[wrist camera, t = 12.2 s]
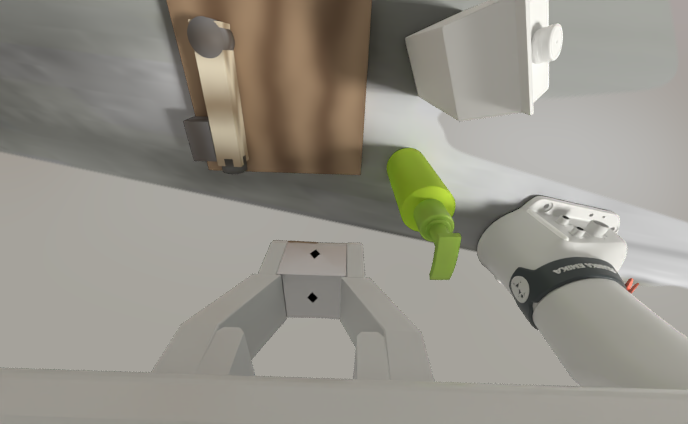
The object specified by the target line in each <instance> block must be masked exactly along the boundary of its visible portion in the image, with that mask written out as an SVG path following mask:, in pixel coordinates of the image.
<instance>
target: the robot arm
mask: <svg viewBox="0 0 688 424" xmlns="http://www.w3.org/2000/svg"><path fill="white" fill-rule="evenodd" d="M545 204H546V205H545ZM544 205H545V206H544ZM619 226H620V217H619V216H618V215H617V214H616V213H614V212H611V211H607V210H603V209H598V208H594V207H589V206H585V205H580V204H576V203H571V202H567V201H563V200H558V199H554V198H549V197H545V196H536V197H534V198H532V199H531V200H530V201H528V202H527V203H526V204H525V205H523V206H522V207H521V208H519V209H518V210H516V211H513V212H511V213H509V214H507V215H505V216H503V217H501V218H500V219H498V220H497V221H495V222H494V223H493V224H491V225H490V226H489V227H488V228H487V229H486V231H485V232H484V233H483V235H482V236H481V238H480V240H479V243H478V246H477V255H478V258H479V261H480V262H481V263H482V265H484V266H485V267H486V268H487V269H488V270H489V271H490V272H491V273H492V274H493V275H494V276H495V278H496V279H497V281H498V282H499V283H500V284H503V285H504V287H505V288H506V289H507V290H508V291H509V292H510V294H511V295H512V296H513V297H514V299H515V301H516V303H517V305H518V307H519V308H520V310H521V311H522V312H523V314H524V315H525V317H526V319H527V320H528V321H529V322H530V324H531V325H532V326H533V327H534V328H535V329H537V330H539V331H540V333H541V334H542V336H543V337H544V339H545V340H546V342H547V343H548V344H549V346H550V347H551V349H552V350H553V352H554V353H555V355H556V356H557V357H558V359H559V360H560V362H561V363H562V365H563V366H564V368H565V369H566V371H567V372H568V373H569V375H570V376H571V377H572V379H573V380H574V381H575V382H577V383H578V384H579V385H580V386H550V385H520V384H519V385H517V384H489V383H488V384H486V383H458V382H457V383H456V382H435V381H434V378H433V374H432V370H431V366H430V362H429V358H428V355H427V351H426V347H425V343H424V340H423V335H422V332H421V331H420V330H419V329H418V328H417V327H416V326H415V325H414V324H413V323H412V322H411V321H410V320H409V319H408V318H407V317H406V315H405V314H403V312H402V311H401V310H400V309H399V308H398V307H397V306H396V305H395V304H394V303H393V302H392V301H391V300H390V299H389V297H388V296H387V295H386V294H385V293H384V292H383V291H382V290H381V289H380V288H379V287H378V286H377V285H376V284H375V283H374V282H373V281H372V280H371V279H370V278H365V269H364V257H363V256H364V255H363V244H362V243H318V242H304V241H283V240H273V241H272V242H271V243H270V246H269V248H268V251H267V253H266V255H265V258H264V260H263V262H262V265H261V267H260V270H259V272H258V274H252V275H251V276H249V277H248V278H247V279H245V280H244V281H242V282H241V283H239V284H238V285H236V286H235V287H234V288H232V289H231V290H229V291H228V292H226V293H225V294H224V295H222V296H221V297H219V298H218V299H216V300H215V301H214V302H212V303H211V304H209V305H208V306H207V307H205V308H204V309H202V310H201V311H199V312H198V313H196V314H195V315H193V316H192V317H191V318H189V319H188V320H186V321H185V322H183V323H182V324H181V325H180V327H179V328H178V330H177V331H176V333H175V335H174V336H173V338H172V339H171V341H170V343H169V344H168V346H167V347H166V349H165V351H164V352H163V354H162V356H161V357H160V359H159V360H158V362H157V363H156V365H155V367H154V368H153V370H152V371H151V372H148V373H147V372H121V371H90V370H60V369H58V370H57V369H29V368H0V424H688V337H686V336H685V335H684V334H682V333H681V332H679V331H678V330H677V329H675V328H674V327H673V326H671V325H670V324H669V323H667V322H666V321H664V320H663V319H662V318H660V317H659V316H658V315H657V314H655V313H654V312H653V311H652V310H650V309H649V308H648V307H647V306H645V305H644V304H643V303H642V302H640V301H639V300H638V299H637V298H635V297H634V296H633V295H632V292H633V291H634V290H635V289H636V288H637V286H638V285H639V283H636V284H635V285H634V286H633V287H632V288H631V289H630V287H631V286H632V282H633V279H632V278H630V279H629V280H628V281H627V283H626V284H624V283H623V281H622V279H621V277H620V276H619V274H618V271H619V269H620V268H621V266H622V264H623V262H624V260H625V258H626V255H627V244H626V242H625V241H624V240H623V239H622V238H621V237H620V236H619V235H617V233H618V230H619ZM286 317H301V318H304V317H305V318H306V317H307V318H308V317H309V318H330V319H340V321H341V323H342V325H343V327H344V328H345V330H346V332H347V333H348V335H349V337H350V339H351V340H352V342H353V344H354V346H355V347H356V351H355V362H354V373H353V379H334V378H331V379H330V378H302V377H272V376H270V377H269V376H255V373H254V369H253V365H252V361H251V360H252V359H253V357H254V356H255V355H256V354H257V353H258V352H259V351H260V349H261V348H262V347H263V346H264V345H265V344H266V342H267V341H268V340H269V339H270V338H271V337H272V335H273V334H274V333H275V332H276V331H277V330H278V328H279V327H280V326H281V325H282V324H283V323H284V322H285V320H286V319H287V318H286Z"/></svg>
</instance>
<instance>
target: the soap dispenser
mask: <svg viewBox="0 0 688 424" xmlns="http://www.w3.org/2000/svg"><path fill="white" fill-rule="evenodd" d="M387 174H388V177H389V180H390V183H391V186H392V189H393V192H394V196H395V199H396V202H397V205H398V208H399V211H400V214H401V217H402V220H403V222H404V223H405V225H406V226H407V227H409V228H410V229H412V230H414V231H418V232H420V234H421V236H422V237H423V238H424V239H425V240H427V241H430V242H434V245H435V252H434V258H433V263H432V267H431V271H430V274H429V275H430V280H449V279H450V277H451V275H452V273H453V271H454V268H455V265H456V261H457V257H458V252H459V248H460V242H461V235H460V234H459V233H452V232H453V230H454V221H453V219H452V216H453V214H454V211H455V200H454V198H453V196H452V194H451V193H450V192H449V190H448V189H447V187H446V186H445V185H444V183H443V182H442V181H441V179H440V178H439V177H438V175H437V174H436V172H435V171H434V170H433V168H432V167H431V166H430V164H429V163H428V161H427V160H426V159H425V157H424V156H423V155H422V153H421V152H419V151H418V150H416V149H413V148H404V149H400V150H398V151H396V152H395V153H394V154H393V155H392V156H391V157H390V159H389V160H388V163H387Z"/></svg>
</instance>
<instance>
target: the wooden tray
mask: <svg viewBox="0 0 688 424" xmlns="http://www.w3.org/2000/svg"><path fill="white" fill-rule="evenodd" d="M166 1H167V5H168V9H169V13H170V17H171V21H172V25H173V29H174V33H175V37H176V41H177V45H178V49H179V53H180V57H181V61H182V65H183V69H184V73H185V77H186V80H187V84H188V88H189V92H190V96H191V100H192V104H193V108H194V112H195V117H192V118H190V119H187V120H185V121H183V123H184V126H185V130H186V134H187V137H188V141H189V144H190V148H191V152H192V155H193V159H194V161H207V164H208V168H209V170H220V171H223V170H222V166H218V162H217V158H216V153H215V148H214V143H213V138H212V133H211V129H210V124H209V119H208V114H207V109H206V104H205V100H204V95H203V90H202V85H201V80H200V75H199V71H198V66H197V61H196V56H195V51H194V49H193V48H192V46H191V45H190V43H189V40H188V36H187V28H188V24H189V22H188V19H193V18H195V17H198V16H203V17H207V18H211V19H215V20H219V21H221V22H224V23H228V24H230V30H231V31H232V33H233V36H234V40H235V47H234V50H233V51H234V58H235V65H236V72H237V79H238V87H239V94H240V101H241V108H242V115H243V122H244V129H245V136H246V143H247V150H248V157H249V159H248V161H247V168H248V169H247V170H246V171H252V172H283V173H314V174H345V175H361V161H362V145H363V130H364V114H365V99H366V83H367V68H368V52H369V37H370V21H371V5H372V0H166Z"/></svg>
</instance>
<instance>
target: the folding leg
mask: <svg viewBox="0 0 688 424" xmlns="http://www.w3.org/2000/svg"><path fill="white" fill-rule="evenodd" d="M188 22H189V24H188V28H187V36H188V40H189V43H190V45H191V46H192V48H193V49H194V51H195V56H196V61H197V66H198V71H199V75H200V80H201V85H202V90H203V95H204V100H205V104H206V109H207V114H208V119H209V124H210V129H211V133H212V138H213V143H214V148H215V153H216V158H217V162H218V166H222V170H223V172H224V173H228V174H238V173H242V172H245V171H246V170H247V169H248V168H247V161H248V159H249V157H248V150H247V143H246V136H245V129H244V122H243V115H242V108H241V101H240V94H239V87H238V79H237V72H236V65H235V58H234V51H233V50H234V47H235V40H234V36H233V33H232V31H231V30H230V24H228V23H224V22H221V21H219V20H215V19H211V18H207V17H203V16H198V17H195V18H193V19H188Z"/></svg>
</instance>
